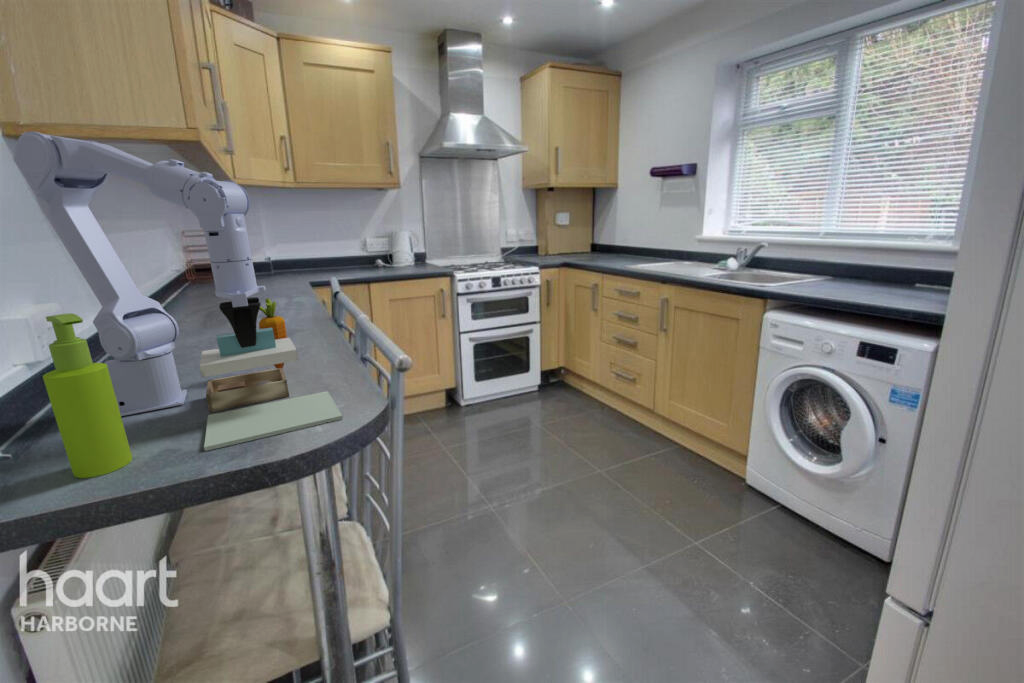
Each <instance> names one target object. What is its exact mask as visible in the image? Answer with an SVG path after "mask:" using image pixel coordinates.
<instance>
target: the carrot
mask: <svg viewBox="0 0 1024 683" xmlns="http://www.w3.org/2000/svg"><path fill="white" fill-rule="evenodd" d="M264 301H265V306H266V308H264V307H262V306H261V305H260V309H259V311H261V312H262V313H264V316H265V317H262V318H261V320H259V323H258V326H259V328H258V329H265V328H272V329H273V333H274V338H275V340H277V339H283V338H288V335H287V328H286V321H285V319H284V318H283V317H282V316H280V315H275V312H276V308H277V307H276V306H277V303H276V301H272V300H271V299H270V298H265V300H264ZM284 365H285V363H280V364H274V365H273V366H274V367H275V369H278V368H282V369H284Z"/></svg>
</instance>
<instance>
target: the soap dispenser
mask: <svg viewBox="0 0 1024 683" xmlns="http://www.w3.org/2000/svg"><path fill="white" fill-rule="evenodd" d="M45 319H46V322H50V323H51V324H52V328H53V331H54V335H55V338H56V340H54V341H53V342H52V343H49V344H48V348H49V352H50V355H51V358H52V362H53V365H54V369H53V370H51V371H48V372H46V373H44V374H43V375H42V378H43V382H44V386H45V389H46V393H47V395H48V398H49V402H50V404H51V407H52V408H51V409H52V411H53V415H54V418H55V421H56V424H57V427H58V431H59V433H60V434H59V435H60V437H61V440H62V443H63V446H64V449H65V452H66V456H67V459H68V462H69V465H70V468H71V472H72V475H73V477H75V478H79V479H90V478H94V477H95V478H96V477H100V476H103V475H107V474H110V473H113V472H114V471H115V472H116V471H117V470H120V469H123V468H124V467H125V466H127V465H129V464H130V463H131V462H132V460H133V455H132V452H131V447H130V445H129V440H128V438H127V433H126V429H125V426H124V421H123V419H122V416H121V414H120V411H119V407H118V403H117V400H116V396H115V392H114V389H113V385H112V381H111V378H110V374H109V371H108V367H107V364H105V362H104V363H103V362H93V359H92V356H91V355H92V354H91V352H90V348H89V345H88V341H87V340H86V339H85V338H81V337H77V336H76V332H75V330H74V326H73V325H75V324H76V325H77V324H81V323H83V321H84V319H83V318H82V317H80V315H77V314H76V313H63V314H62V313H61V314H54V315H48V316H45Z"/></svg>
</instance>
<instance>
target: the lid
mask: <svg viewBox="0 0 1024 683" xmlns="http://www.w3.org/2000/svg"><path fill="white" fill-rule="evenodd" d="M216 341H217V346H218V348H213V349H209V350H202V352H201V356H200V362H199V369H200V371H199V372H200V373H201V374H200V375H201V378H205V377H212V376H217V375H218V376H219V375H222V374H228V373H229V374H230V373H234V372H239V371H245V370H246V371H247V370H251V369H256V368H262V367H263V368H264V367H268V366H272V365H273V366H274V364H280V363H284V364H285V363H290V362H296V361H299V354H298V350H297V348H296V346H295V344H294V343H293V341H292V340H291V338H290V337H287V338H283V339H277V340H275V338H274V333H273V329H272V328H265V329H260V328H258V329H256V346H250V347H244V348H241V346H240V344H239V342H238V340H237V338H236V335H235V333H234V332H231V333H225V334H218V335H217V334H216Z"/></svg>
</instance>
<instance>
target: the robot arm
mask: <svg viewBox="0 0 1024 683" xmlns="http://www.w3.org/2000/svg"><path fill="white" fill-rule="evenodd" d="M13 162H14V163H15V165H16V166H17V167H18V169H19V171H20V173H21V174H22V177H24V178H25V180H26V182H27V184H28V185H29V187H30V188H31V190H32V192H33V193H34V195H35V198H36V201H37V203H38V205H39V207H40V209H41V211H42V212H43V214H44V215H45V217H46V219H47V220H48V222H49V223H50V225H51V226H52V228H53V230H54V232H55V233H56V234H57V236H58V238H59V239H60V242H62V244H63V246H64V247H65V249H66V250H67V253H68V254H69V255H70V257H71V258H72V260H73V262H74V264H75V265H76V267H77V268H78V270H79V271H80V273H81V275H82V276H83V278H84V279H85V281H86V282H87V284H88V286H89V287H90V289H91V291H92V292H93V294H94V295H95V297H96V298H97V301H98V302H99V304H100V305H101V308H100V310H99V312H98V313H97V314H96V315H95V317H94V319H93V320H92V324H93V325H94V327H95V328H96V331H97V332H98V338H99V342H100V345H101V347H102V349H103V350H104V351H105V352H106V353H107V354H108V355H109V356H110V357H112V358H114V359H110V360H106V361H105V362H104V363H105V364H107V367H108V371H109V374H110V378H111V381H112V385H113V389H114V392H115V396H116V400H117V403H118V407H119V411H120V414H121V417H123V416H130V415H135V414H140V413H145V412H151V411H156V410H162V409H166V408H172V407H177V406H181V405H184V403H185V401H186V396H187V394H188V390H187V389H182V388H181V384H180V383H181V382H180V379H179V375H178V370H177V366H176V362H175V358H174V354H173V351H172V350H174V349H176V347H175V343H176V342H177V341H178V339H179V336H180V329H179V325H178V323H177V321H176V320H175V318H174V317H173V316H172V315H170V313H168V312H167V311H166V310H165V309H164V308H163V306H162V304H161V303H160V302H159V301H157V300H155V299H153V298H150V297H148V296H146V295H144V294H142V293H141V292H140V290H139V288H138V287H137V286H136V283H135V282H134V280H133V278H132V276H131V275H130V274H129V272H128V270H127V269H126V266H125V265H124V263H123V262H122V260H121V259H120V257H119V255H118V254H117V252H116V251H115V249H114V247H113V245H112V244H111V241H110V240H109V239H108V237H107V235H106V234H105V232H104V230H103V229H102V226H101V225H100V223H98V221H97V219H96V217H95V215H94V214H93V212H92V211H91V209H90V207H89V203H90V202H91V200H93V199H95V198H96V197H97V195H98V194H99V192H100V191H101V189H102V188H103V187H104V185H105V183H106V182H107V180H108V179H109V177H110V175H115V176H119V177H123V178H126V179H129V180H132V181H134V182H137V183H140V184H143V185H146V186H147V189H149V192H150V193H151V194H152V195H153V196H155V197H156V198H158V199H161V200H164V201H167V202H169V203H172V204H174V205H177V206H180V207H182V208H185V209H188V210H190V211H191V213H193V215H194V216H195V217H196V218H197V219H198V222H199V228H201V229H202V231H203V232H204V233H203V234H204V238H205V242H206V248H207V253H208V257H209V262H210V266H211V267H210V268H211V272H212V276H213V281H214V282H213V283H214V287H215V291H214V294H215V297H218V298H223V299H229V300H231V301H222V302H220V303H219V310H220V311H221V313H222V314H223V315H224V316H225V318H226V319H227V320H228V323H229V324H230V325H231V329H232V330H233V333H235V335H236V338H237V340H238V342H239V344H240V346H241V348H244V347H250V346H256V330H257V320H258V314H259V312H260V310H259V309H260V306H261V305H262V304H261V303H262V302H260V299H259V297H255V296H254V297H250V296H253V295H255V294H258V293H259V292H264V291H267V287H266V285H258V284H257V279H256V273H255V268H254V262H253V256H252V252H251V246H250V241H249V234H248V230H247V229H248V228H247V225H246V219H245V216H246V215H247V214H248V213H249V210H250V208H251V207H250V206H251V200H250V197H249V195H248V192H247V190H245V188H244V187H242V186H241V185H239V184H238V183H236V182H235V181H233V180H222V181H221V180H216V179H215V178H214V177H213V176H214V175H213V174H212V173H210V172H207V171H201V172H199V171H196V170H193V169H190V168H187V167H185V162H184V161H181V160H178V159H172V158H169V159H168V160H159V161H156V162H155V163H152V162H149V161H147V160H146V159H142V158H140V157H138V156H135V155H133V154H131V153H128V152H125V151H123V150H121V149H120V148H119V149H118V148H117V147H115V146H111V145H109V144H105V143H100V142H98V141H95V140H89V139H88V140H85V139H84V140H83V139H77V138H69V137H63V136H58V135H57V136H56V135H53V134H52V135H51V134H46V133H45V134H44V133H41V132H39V131H31V130H30V131H26V132H24V133H22V134H21V135H20V136H19V137H18V139H17V142H16V147H15V151H14V156H13Z"/></svg>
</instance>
